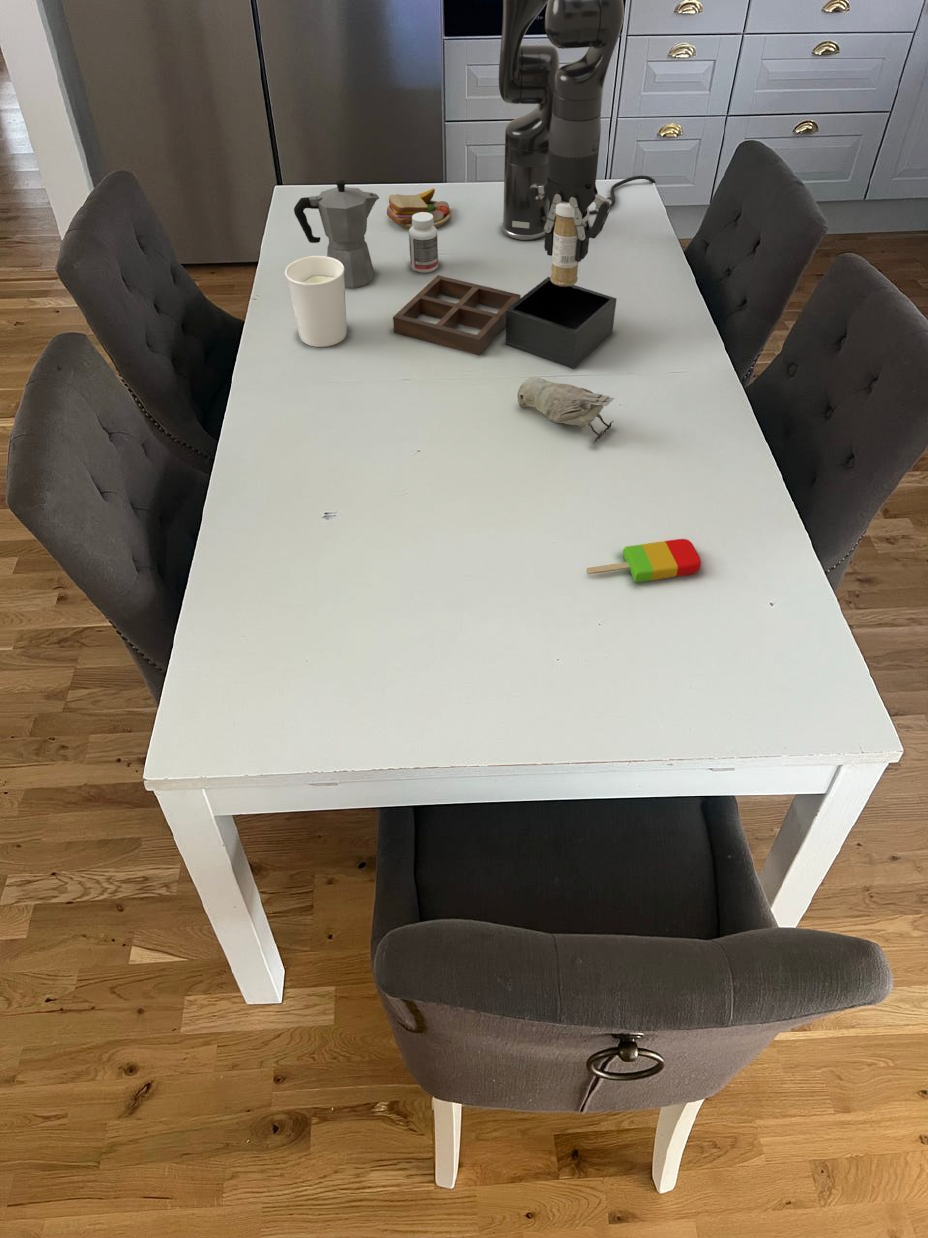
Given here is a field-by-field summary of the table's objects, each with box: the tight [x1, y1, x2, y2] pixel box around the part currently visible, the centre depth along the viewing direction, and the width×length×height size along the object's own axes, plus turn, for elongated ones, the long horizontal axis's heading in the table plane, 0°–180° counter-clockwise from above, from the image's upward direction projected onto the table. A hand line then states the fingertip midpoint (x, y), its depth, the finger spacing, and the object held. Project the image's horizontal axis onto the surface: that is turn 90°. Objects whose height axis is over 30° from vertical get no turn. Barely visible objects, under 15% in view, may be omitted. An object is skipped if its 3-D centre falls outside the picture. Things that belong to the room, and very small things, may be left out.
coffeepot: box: [293, 179, 380, 289], centre depth 169 cm, size 15×9×18 cm, turn 103°
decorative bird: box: [517, 376, 615, 444], centre depth 141 cm, size 5×16×8 cm, turn 55°
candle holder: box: [284, 255, 348, 348], centre depth 157 cm, size 10×10×12 cm
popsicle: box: [586, 538, 702, 583], centre depth 121 cm, size 6×15×2 cm, turn 101°
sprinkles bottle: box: [550, 201, 583, 287], centre depth 147 cm, size 5×5×13 cm
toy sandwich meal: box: [386, 187, 452, 230], centre depth 190 cm, size 12×14×5 cm
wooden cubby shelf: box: [392, 274, 522, 356], centre depth 163 cm, size 17×17×3 cm
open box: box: [504, 276, 618, 370], centre depth 158 cm, size 14×14×7 cm
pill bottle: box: [408, 212, 439, 274], centre depth 174 cm, size 5×5×10 cm
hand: (565, 255), depth 149 cm, fingers closed on sprinkles bottle, 4 cm apart
